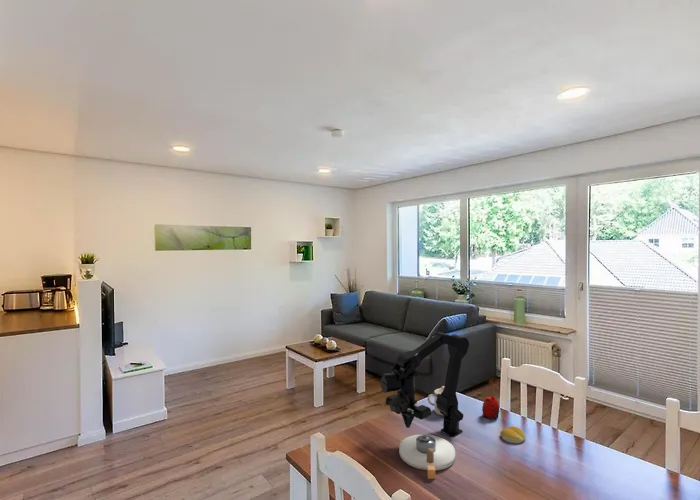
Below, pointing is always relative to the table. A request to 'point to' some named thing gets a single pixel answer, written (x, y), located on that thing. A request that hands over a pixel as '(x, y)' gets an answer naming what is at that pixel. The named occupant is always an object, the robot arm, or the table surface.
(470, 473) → the table surface
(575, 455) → the table surface
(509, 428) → the bread roll
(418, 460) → the turntable
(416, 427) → the table surface
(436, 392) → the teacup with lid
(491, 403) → the red clay folk toy
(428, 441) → the cover
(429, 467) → the pointer block
